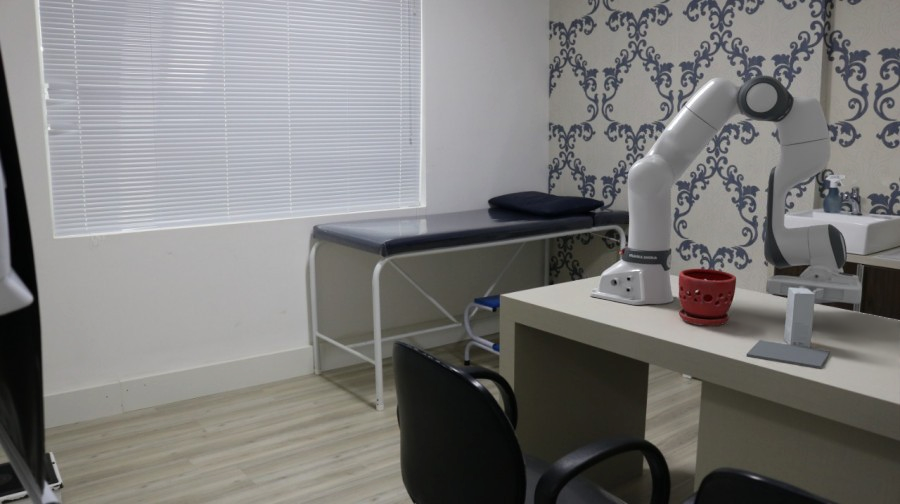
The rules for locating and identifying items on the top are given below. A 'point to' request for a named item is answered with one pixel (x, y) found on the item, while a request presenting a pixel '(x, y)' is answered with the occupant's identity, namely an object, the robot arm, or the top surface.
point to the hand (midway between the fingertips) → (807, 295)
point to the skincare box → (799, 317)
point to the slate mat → (789, 354)
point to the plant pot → (706, 296)
